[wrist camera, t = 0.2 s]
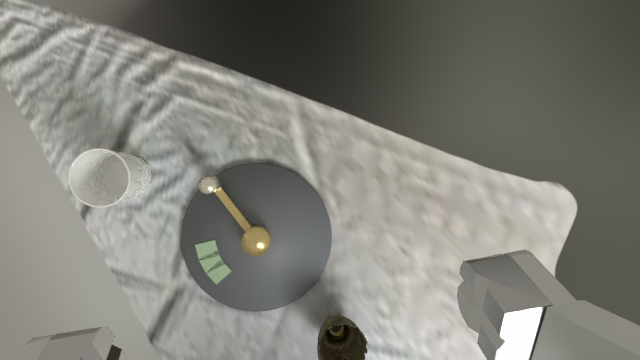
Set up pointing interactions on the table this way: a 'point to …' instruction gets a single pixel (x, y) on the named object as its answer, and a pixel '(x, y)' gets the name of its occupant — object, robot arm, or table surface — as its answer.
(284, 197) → the dial
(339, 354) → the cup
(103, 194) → the white cup
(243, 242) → the needle
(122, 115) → the table surface
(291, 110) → the table surface
